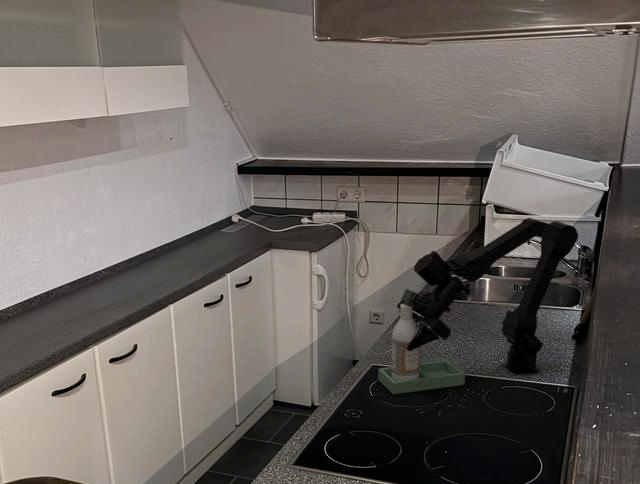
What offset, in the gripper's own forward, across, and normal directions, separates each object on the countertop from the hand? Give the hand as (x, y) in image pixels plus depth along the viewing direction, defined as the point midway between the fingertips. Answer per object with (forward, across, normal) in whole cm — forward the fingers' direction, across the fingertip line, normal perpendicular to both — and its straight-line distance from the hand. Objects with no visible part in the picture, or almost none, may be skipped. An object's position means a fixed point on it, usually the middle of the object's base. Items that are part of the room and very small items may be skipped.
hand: (401, 345), depth 190 cm
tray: (+4, 0, +12) cm, 12 cm away
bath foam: (+6, 0, +8) cm, 10 cm away
